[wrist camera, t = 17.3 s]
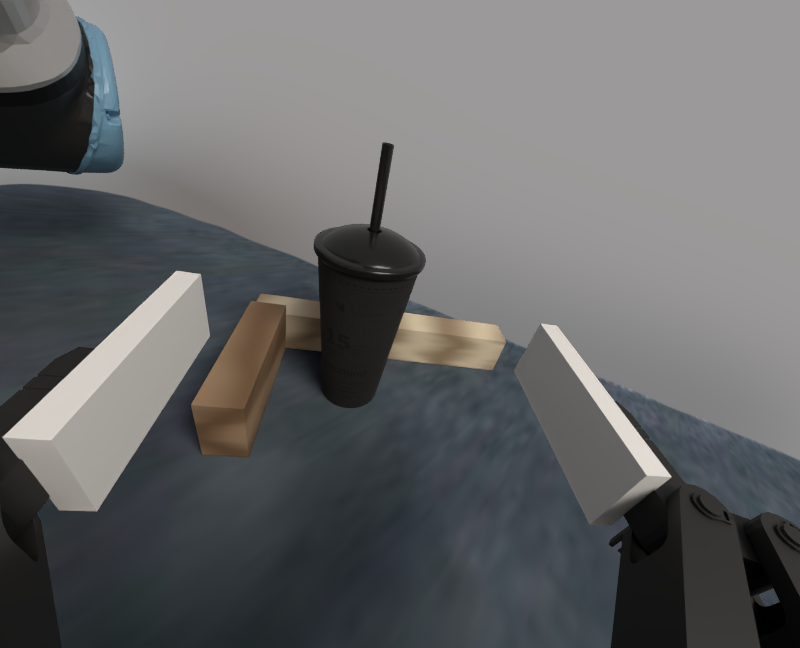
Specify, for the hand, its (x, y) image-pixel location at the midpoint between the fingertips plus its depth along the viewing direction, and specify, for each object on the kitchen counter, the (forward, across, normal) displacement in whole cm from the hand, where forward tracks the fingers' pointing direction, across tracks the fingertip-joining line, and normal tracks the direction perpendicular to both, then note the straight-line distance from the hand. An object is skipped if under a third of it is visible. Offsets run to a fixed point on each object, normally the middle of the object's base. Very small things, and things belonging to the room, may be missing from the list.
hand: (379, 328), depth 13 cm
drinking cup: (+11, 0, -15) cm, 18 cm away
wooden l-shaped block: (+11, +3, -15) cm, 19 cm away
